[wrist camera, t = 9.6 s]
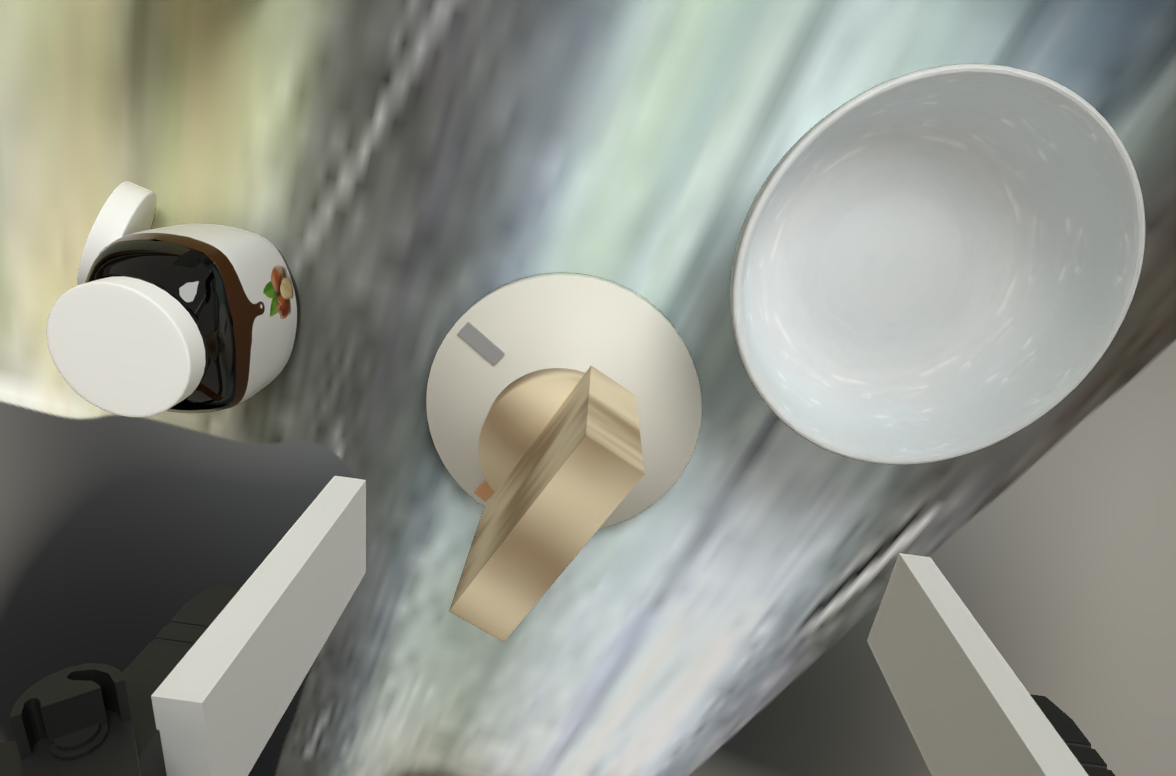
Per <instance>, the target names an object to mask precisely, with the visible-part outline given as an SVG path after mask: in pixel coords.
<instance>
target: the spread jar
mask: <svg viewBox="0 0 1176 776" xmlns="http://www.w3.org/2000/svg"><path fill="white" fill-rule="evenodd" d="M155 210H156V195H155V193H154V192H152V191H150V190H148V189H145V188H143V187H141V186H138V185H136V184H134V183H131V182H129V181H125V182H123V183H121V184H120V185H119V186H118V187H117V188H116V189H115V190H114V191H113V192H112V193H111V195H110V196H109V198H108V199H107V201H106V202H105V204H104V205H103V207H102V209H101V211H100V212H99V214H98V216H97V218H96V220H95V222H94V224H93V226H92V229H91V231H90V234H89V236H88V238H87V241H86V244H85V247H84V249H83V253H82V256H81V260H80V264H79V269H78V276H77V285H78V286H76V287H74V288H72V289H69V290H68V291H66V292H65V293H64V294H63V295H62V296H61V297H59V298H58V300H57V301H56V303H55V304H54V306H53V307H52V309H51V312H50V315H49V317H48V321H47V331H46V333H47V342H48V348H49V351H50V354H51V357H52V360H53V362H54V364H55V365H56V367H57V369H58V371H59V373H60V374H61V375H62V377H63V378H64V379H65V381H66V382H67V383H68V384H69V385H70V386H71V387H72V388H73V389H74V390H75V391H76V392H77V393H78V394H79V395H80V396H81V397H83V398H84V399H86V400H87V401H88V402H90V403H91V404H93V405H95V406H97V407H99V408H101V409H103V410H105V411H108V412H111V413H113V414H116V415H121V416H127V417H147V416H152V415H157V414H159V413H161V412H164V411H169V412H180V413H206V412H213V411H219V410H224V409H228V408H231V407H233V406H235V405H238V404H240V403H242V402H244V401H245V400H247V399H249V398H250V397H252V396H253V395H254V394H256V393H257V392H259V391H260V390H261V389H263V388H264V387H266V386H267V385H268V384H269V383H271V382H272V381H273V380H274V379H275V378H276V377H277V376H278V375H279V374H280V373H281V371H282V370H283V368H284V367H285V365H286V364H287V362H288V360H289V358H290V355H291V353H292V350H293V347H294V344H295V340H296V336H297V331H298V325H299V318H300V302H299V295H298V290H297V286H296V283H295V280H294V277H293V275H292V273H291V270H290V268H289V266H288V264H287V262H286V260H285V259H284V257H283V256H282V254H281V253H280V252H279V250H278V249H277V248H276V247H275V246H274V245H273V244H272V243H271V242H270V241H269V240H267V239H265V238H264V237H262V236H260V235H258V234H256V233H253V232H250V231H247V230H244V229H240V228H236V227H231V226H225V225H219V224H181V225H173V226H166V227H160V228H155V229H151V226H152V222H153V219H154V215H155Z"/></svg>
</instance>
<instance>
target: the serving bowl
mask: <svg viewBox="0 0 1176 776" xmlns="http://www.w3.org/2000/svg"><path fill="white" fill-rule="evenodd" d="M1144 246H1145V212H1144V204H1143V197H1142V192H1141V188H1140V184H1139V181H1138V177H1137V174H1136V171H1135V168H1134V166H1133V163H1132V161H1131V159H1130V156H1129V154H1128V152H1127V150H1126V149H1125V147H1124V145H1123V143H1122V141H1121V140H1120V138H1119V137H1118V135H1117V134H1116V132H1115V131H1114V129H1113V128H1112V127H1111V126H1110V124H1109V123H1108V122H1107V121H1106V119H1105V118H1104V117H1103V116H1102V115H1101V114H1100V113H1099V112H1098V111H1097V110H1096V109H1095V108H1094V107H1092V106H1091V105H1090V104H1089V103H1088V102H1087V101H1085V100H1084V99H1083V98H1081V97H1080V96H1079V95H1078V94H1076V93H1075V92H1073V91H1071V90H1070V89H1068V88H1066V87H1065V86H1063V85H1061V84H1059V83H1057V82H1055V81H1053V80H1051V79H1049V78H1046V77H1044V76H1041V75H1039V74H1036V73H1032V72H1029V71H1026V70H1022V69H1018V68H1013V67H1008V66H1000V65H992V64H979V63H974V64H954V65H946V66H939V67H933V68H929V69H924V70H920V71H916V72H912V73H909V74H906V75H903V76H900V77H897V78H894V79H891V80H889V81H886V82H884V83H881V84H879V85H877V86H875V87H873V88H871V89H869V90H867V91H865V92H863V93H861V94H860V95H858V96H856V97H854V98H853V99H851V100H849V101H848V102H846V103H845V104H843V105H842V106H840V107H839V108H837V109H836V110H834V111H833V112H831V113H830V114H829V115H827V116H826V117H825V118H823V119H822V120H821V121H820V122H818V123H817V124H816V125H815V126H814V127H812V128H811V129H810V130H809V131H808V132H807V133H806V134H804V135H803V136H802V137H801V138H800V139H799V140H798V141H797V142H796V143H795V144H794V145H793V146H792V147H791V149H790V150H789V151H788V152H787V153H786V154H785V155H784V157H783V158H782V159H781V160H780V161H779V163H778V164H777V165H776V167H775V168H774V169H773V171H772V172H771V173H770V175H769V176H768V178H767V179H766V181H765V182H764V184H763V186H762V187H761V189H760V191H759V192H758V194H757V196H756V197H755V199H754V201H753V204H752V206H751V208H750V210H749V212H748V214H747V216H746V219H745V221H744V224H743V226H742V229H741V232H740V235H739V239H738V242H737V246H736V250H735V255H734V259H733V266H732V272H731V283H730V306H731V317H732V325H733V331H734V336H735V340H736V344H737V348H738V351H739V355H740V357H741V360H742V363H743V365H744V368H745V370H746V372H747V375H748V376H749V378H750V380H751V382H752V384H753V386H754V387H755V389H756V390H757V392H758V394H759V395H760V396H761V398H762V399H763V400H764V402H765V403H766V404H767V406H768V407H769V408H770V409H771V410H772V411H773V413H774V414H775V415H776V416H777V417H778V418H779V419H780V420H781V421H783V422H784V423H785V424H786V425H787V426H788V427H789V428H791V429H792V430H793V431H795V432H796V433H797V434H799V435H800V436H802V437H803V438H805V439H806V440H808V441H810V442H812V443H813V444H815V445H817V446H819V447H821V448H823V449H825V450H828V451H830V452H832V453H835V454H838V455H841V456H844V457H848V458H851V459H855V460H859V461H864V462H870V463H878V464H891V465H905V464H922V463H929V462H936V461H941V460H946V459H950V458H955V457H958V456H962V455H965V454H968V453H971V452H974V451H977V450H980V449H982V448H985V447H988V446H990V445H992V444H994V443H997V442H999V441H1001V440H1003V439H1005V438H1007V437H1009V436H1010V435H1012V434H1014V433H1016V432H1017V431H1019V430H1021V429H1023V428H1024V427H1026V426H1028V425H1029V424H1031V423H1032V422H1034V421H1035V420H1037V419H1038V418H1040V417H1041V416H1043V415H1044V414H1045V413H1047V412H1048V411H1049V410H1051V409H1052V408H1053V407H1054V406H1056V405H1057V404H1058V403H1059V402H1060V401H1062V400H1063V399H1064V398H1065V397H1066V396H1067V395H1068V394H1069V393H1070V392H1071V391H1072V390H1074V389H1075V388H1076V387H1077V386H1078V385H1079V384H1080V382H1081V381H1082V380H1083V379H1084V378H1085V377H1086V376H1087V375H1088V374H1089V372H1090V371H1091V370H1092V369H1093V367H1094V366H1095V365H1096V363H1097V362H1098V361H1099V360H1100V358H1101V357H1102V356H1103V354H1104V353H1105V351H1106V350H1107V348H1108V347H1109V345H1110V344H1111V342H1112V340H1113V338H1114V337H1115V335H1116V333H1117V331H1118V329H1119V327H1120V326H1121V324H1122V322H1123V320H1124V318H1125V315H1126V313H1127V311H1128V308H1129V306H1130V304H1131V301H1132V299H1133V296H1134V293H1135V290H1136V287H1137V283H1138V280H1139V276H1140V272H1141V268H1142V262H1143V256H1144Z"/></svg>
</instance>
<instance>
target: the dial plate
mask: <svg viewBox="0 0 1176 776" xmlns="http://www.w3.org/2000/svg"><path fill="white" fill-rule="evenodd" d="M591 365H592V366H593V367H595V368H596V369H598V370H599V371H600V372H602V373H603V374H605V375H606V376H608V377H609V378H611V379H612V380H614V381H615V382H617V383H618V384H620V385H621V386H623V387H624V388H626V389H627V390H629V391H630V392H632V393H633V394H634V395H636V401H637V410H638V419H639V428H640V437H641V446H642V455H643V464H644V473H645V474H644V475H643V476H642V478H641V479H640V480H639V481H638V482H637V484H636V485H635V486H634V487H633V488H632V489H631V491H630V492H629V493H628V494H627V495H626V497H625V498H624V499H623V500H622V501H621V503H620V504H619V505H618V506H617V507H616V509H615V510H614V511H613V512H612V513H611V515H610V516H609V517H608V518H607V519H606V521H605V522H604V523H603V524H602V525H601V527H600V528H599V529H601V528H605V527H608V526H611V525H614V524H618V523H620V522H622V521H625V520H627V519H629V518H632V517H634V516H635V515H637V514H639V513H640V512H642V511H644V510H646V509H647V508H649V507H650V506H651V505H652V504H654V503H655V502H656V501H658V500H659V499H660V498H661V497H662V496H663V495H664V494H665V493H666V492H667V491H668V490H669V489H670V488H671V487H672V486H673V485H674V484H675V482H676V481H677V480H678V478H679V477H680V476H681V475H682V473H683V471H684V469H685V468H686V466H687V464H688V463H689V461H690V459H691V456H692V454H693V451H694V449H695V447H696V444H697V440H698V436H699V432H700V427H701V418H702V395H701V390H700V384H699V379H698V376H697V372H696V369H695V366H694V363H693V361H692V358H691V355H690V353H689V351H688V349H687V347H686V345H685V343H684V341H683V339H682V338H681V336H680V335H679V333H678V332H677V330H676V329H675V327H674V326H673V325H672V323H671V322H670V321H669V320H668V319H667V318H666V317H665V316H664V315H663V314H662V312H661V311H659V310H658V309H657V308H656V307H655V306H654V305H652V304H651V303H650V302H649V301H648V300H646V299H645V298H643V297H642V296H640V295H638V294H637V293H635V292H634V291H632V290H630V289H628V288H626V287H624V286H622V285H620V284H617V283H615V282H613V281H609V280H606V279H603V278H600V277H597V276H591V275H585V274H579V273H561V272H558V273H547V274H538V275H534V276H530V277H525V278H521V279H519V280H516V281H513V282H511V283H508V284H505V285H503V286H501V287H499V288H498V289H496V290H494V291H492V292H490V293H488V294H487V295H486V296H484V297H483V298H482V299H480V300H479V301H477V302H476V303H475V304H474V305H473V306H472V307H471V308H470V309H469V310H467V311H466V312H465V313H464V314H463V315H462V316H461V318H460V319H459V320H458V321H457V322H456V324H455V325H454V326H453V328H452V329H451V330H450V331H449V333H448V334H447V335H446V337H445V339H444V340H443V342H442V344H441V346H440V347H439V349H438V351H437V354H436V356H435V359H434V361H433V364H432V366H431V371H430V375H429V379H428V384H427V396H426V406H427V419H428V424H429V429H430V433H431V436H432V439H433V442H434V445H435V448H436V450H437V452H438V454H439V456H440V458H441V460H442V462H443V464H444V465H445V467H446V468H447V470H448V471H449V473H450V474H451V476H452V477H453V478H454V479H455V481H456V482H457V483H458V484H459V485H460V486H461V487H462V489H463V490H464V491H466V492H467V493H468V494H469V495H470V496H471V497H472V498H473V499H474V500H476V501H477V502H478V503H480V504H481V505H483V506H484V507H485V506H486V505H487V504H488V502H489V501H490V500H491V498H492V497H493V496H494V494H495V492H494V491H493V490H492V488H491V487H490V486H489V484H488V483H487V481H486V478H485V476H484V474H483V472H482V469H481V466H480V461H479V452H478V445H479V437H480V433H481V429H482V426H483V424H484V422H485V419H486V417H487V415H488V412H489V410H490V408H491V406H492V404H493V402H494V401H495V399H496V398H497V396H498V395H499V394H500V393H501V392H502V390H504V389H505V388H506V387H507V386H508V385H509V384H510V383H512V382H513V381H515V380H516V379H518V378H520V377H522V376H524V375H526V374H528V373H531V372H534V371H538V370H542V369H549V368H566V369H573V370H577V371H581V372H584V373H586V371H587V370H588V369H589V367H590V366H591Z"/></svg>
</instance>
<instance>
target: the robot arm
mask: <svg viewBox="0 0 1176 776" xmlns="http://www.w3.org/2000/svg"><path fill="white" fill-rule="evenodd" d="M365 573H366V480H362V479H355V478H347V477H340V476H334V477H333V478H332V480H331V481H330V482H329V483H328V484H327V486H326V487H325V488H324V489H323V490H322V492H321V493H320V494H319V495H318V496H317V498H316V499H315V500H314V501H313V502H312V504H311V505H310V506H309V507H308V508H307V510H306V511H305V512H304V513H303V515H302V516H301V517H300V518H299V519H298V521H297V522H296V523H295V524H294V525H293V526H292V528H291V529H290V530H289V531H288V532H287V534H286V535H285V536H284V537H283V538H282V540H281V541H280V542H279V543H278V545H277V546H276V547H275V548H274V549H273V550H272V552H271V553H270V554H269V555H268V556H267V558H266V559H265V560H264V561H263V562H262V564H261V565H260V566H259V568H257V570H256V571H255V572H254V573H253V574H252V576H251V577H250V578H249V579H248V580H247V582H246V583H245V584H244V585H243V586H242V588H234V587H227V586H220V585H214V586H212V587H211V588H209V589H207V590H206V591H204V592H202V593H201V594H199V595H197V596H196V597H194V598H192V599H191V600H189V601H188V602H187V603H186V604H185V605H184V606H183V607H182V608H181V610H180V611H179V612H178V613H177V614H176V615H175V616H174V617H173V618H172V620H170V624H169V625H166V626H165V627H164V628H163V629H162V630H161V631H160V632H159V634H157V636H156V637H155V640H154V641H153V642H152V641H151V642H150V643H149V644H148V645H147V647H146V648H145V649H144V650H143V651H142V652H141V653H140V654H139V655H138V656H137V657H136V658H135V659H134V661H133V662H132V663H131V664H130V665H129V666H128V667H127V668H126V669H125V670H124V671H123V672H122V674H121V672H120V670H118V669H116V668H114V667H112V666H110V665H107V664H94V663H88V664H83V665H78V666H73V667H68V668H65V669H63V670H61V671H58V672H56V673H54V674H51V675H49V676H46V677H45V678H43V679H42V680H40V681H39V682H37V683H36V684H34V685H33V686H32V687H30V688H29V689H27V690H26V692H25V693H24V694H23V695H22V696H21V697H20V698H19V699H18V700H17V702H15V704H14V706H13V709H12V712H11V716H10V722H11V725H12V729H13V732H14V736H15V740H16V741H10V742H3V743H0V776H248V774H249V773H250V771H251V769H252V768H253V766H254V764H255V762H256V760H257V759H258V757H259V755H260V754H261V752H262V750H263V749H264V747H265V745H266V743H267V742H268V740H269V738H270V737H271V735H272V733H273V731H274V729H275V727H276V726H277V724H278V723H279V721H280V719H281V717H282V716H283V714H284V712H285V711H286V709H287V707H288V705H289V704H290V702H291V700H292V699H293V697H294V695H295V693H296V692H297V690H298V688H299V687H300V685H301V683H302V681H303V680H304V678H305V676H306V674H307V673H308V671H309V669H310V668H311V666H312V664H313V662H314V661H315V659H316V657H317V656H318V654H319V652H320V650H321V649H322V647H323V645H324V643H325V642H326V640H327V638H328V637H329V635H330V633H331V631H332V630H333V628H334V626H335V625H336V623H337V621H338V619H339V618H340V616H341V614H342V612H343V611H344V609H345V607H346V606H347V604H348V602H349V600H350V599H351V597H352V595H353V593H354V592H355V590H356V588H357V587H358V585H359V583H360V581H361V580H362V578H363V576H364V575H365ZM867 642H868V644H869V646H870V648H871V650H872V652H873V654H874V657H875V659H876V660H877V663H878V665H879V667H880V669H881V671H882V673H883V675H884V677H885V679H886V681H887V684H888V685H889V688H890V690H891V692H892V694H893V696H894V698H895V700H896V702H897V704H898V706H899V708H900V711H901V713H902V715H903V717H904V719H905V721H906V723H907V725H908V727H909V729H910V731H911V733H912V735H913V737H914V739H915V742H916V744H917V746H918V748H919V750H920V752H921V754H922V756H923V758H924V760H925V762H926V764H927V767H928V768H929V771H930V773H931V775H932V776H1115V775H1114V774H1113V772H1112V771H1111V770H1107V765H1106V763H1105V762H1104V761H1103V759H1102V758H1101V757H1100V755H1099V754H1098V753H1097V752H1096V750H1095V749H1092V748H1091V744H1090V742H1089V741H1088V740H1087V738H1086V737H1085V736H1084V735H1083V733H1082V732H1081V731H1080V729H1079V728H1078V727H1077V725H1076V724H1075V723H1074V721H1073V720H1072V719H1071V718H1069V716H1067V715H1066V714H1065V713H1063V711H1062V710H1060V709H1059V708H1058V707H1057V706H1055V704H1053V703H1052V702H1051V701H1050V700H1049V699H1048V698H1046V697H1045V696H1038V695H1030V694H1029V693H1028V691H1027V690H1026V689H1025V687H1024V686H1023V685H1022V683H1021V682H1020V680H1019V679H1018V678H1017V676H1016V675H1015V673H1014V672H1013V671H1012V669H1011V668H1010V667H1009V665H1008V664H1007V662H1006V661H1005V660H1004V658H1003V657H1002V656H1001V654H1000V653H999V651H998V650H997V649H996V647H995V646H994V645H993V643H992V642H991V640H990V639H989V638H988V636H987V635H986V634H985V632H984V631H983V629H982V628H981V627H980V625H979V624H978V623H977V621H976V620H975V618H974V617H973V616H972V614H971V613H970V611H969V610H968V609H967V607H966V606H965V604H964V603H963V602H962V600H961V599H960V598H959V596H958V595H957V593H956V592H955V591H954V590H953V588H952V587H951V585H950V584H949V582H948V581H947V580H946V578H945V577H944V576H943V574H942V573H941V571H940V570H939V569H938V567H937V566H936V565H935V563H934V562H933V560H932V559H931V558H930V557H924V556H917V555H909V554H902V553H899V555H898V558H897V561H896V563H895V566H894V569H893V571H892V574H891V577H890V580H889V582H888V585H887V588H886V590H885V593H884V596H883V599H882V601H881V604H880V607H879V610H878V612H877V615H876V618H875V621H874V623H873V626H872V628H871V631H870V634H869V637H868V639H867Z"/></svg>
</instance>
